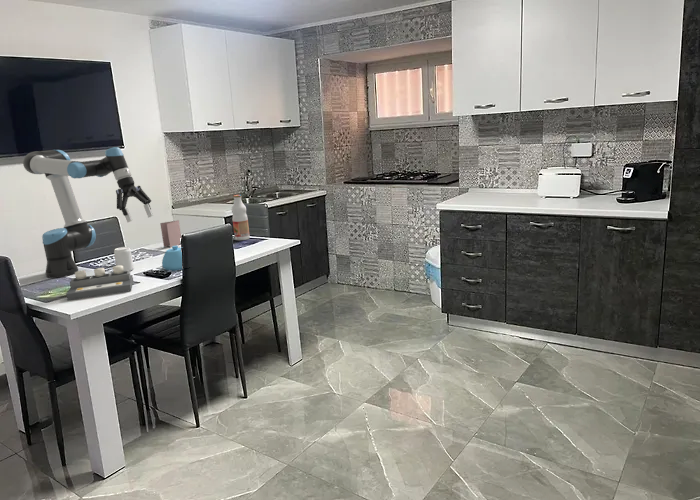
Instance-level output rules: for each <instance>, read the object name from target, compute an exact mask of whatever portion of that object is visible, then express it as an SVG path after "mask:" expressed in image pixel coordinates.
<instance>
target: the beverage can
mask: <svg viewBox="0 0 700 500" xmlns="http://www.w3.org/2000/svg"><path fill="white" fill-rule="evenodd" d="M113 255H114V260H115V266H118V265H123V269H124V271H129V270H130V272H131V271H133V270H134V269H135V267H134V261H133V256H132V249H131V248H130V247H129V246H120V247H117V248H115V249H114V251H113Z"/></svg>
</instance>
